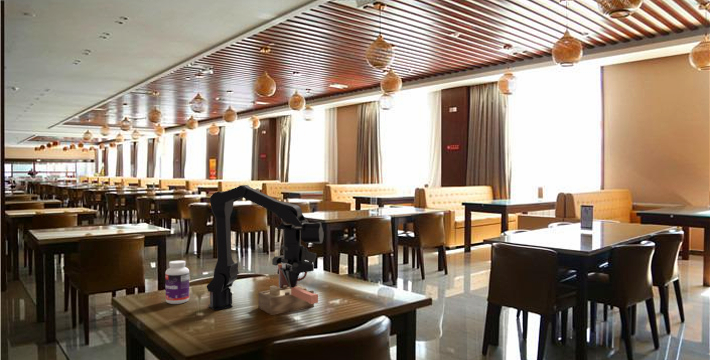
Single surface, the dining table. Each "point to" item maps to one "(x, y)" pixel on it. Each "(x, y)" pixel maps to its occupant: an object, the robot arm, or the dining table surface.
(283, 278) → the mug
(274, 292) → the sliding box lid
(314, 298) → the salmon pink rectangular bar
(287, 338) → the dining table surface
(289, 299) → the toolbox
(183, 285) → the pill bottle
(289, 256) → the robot arm
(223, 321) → the dining table surface
